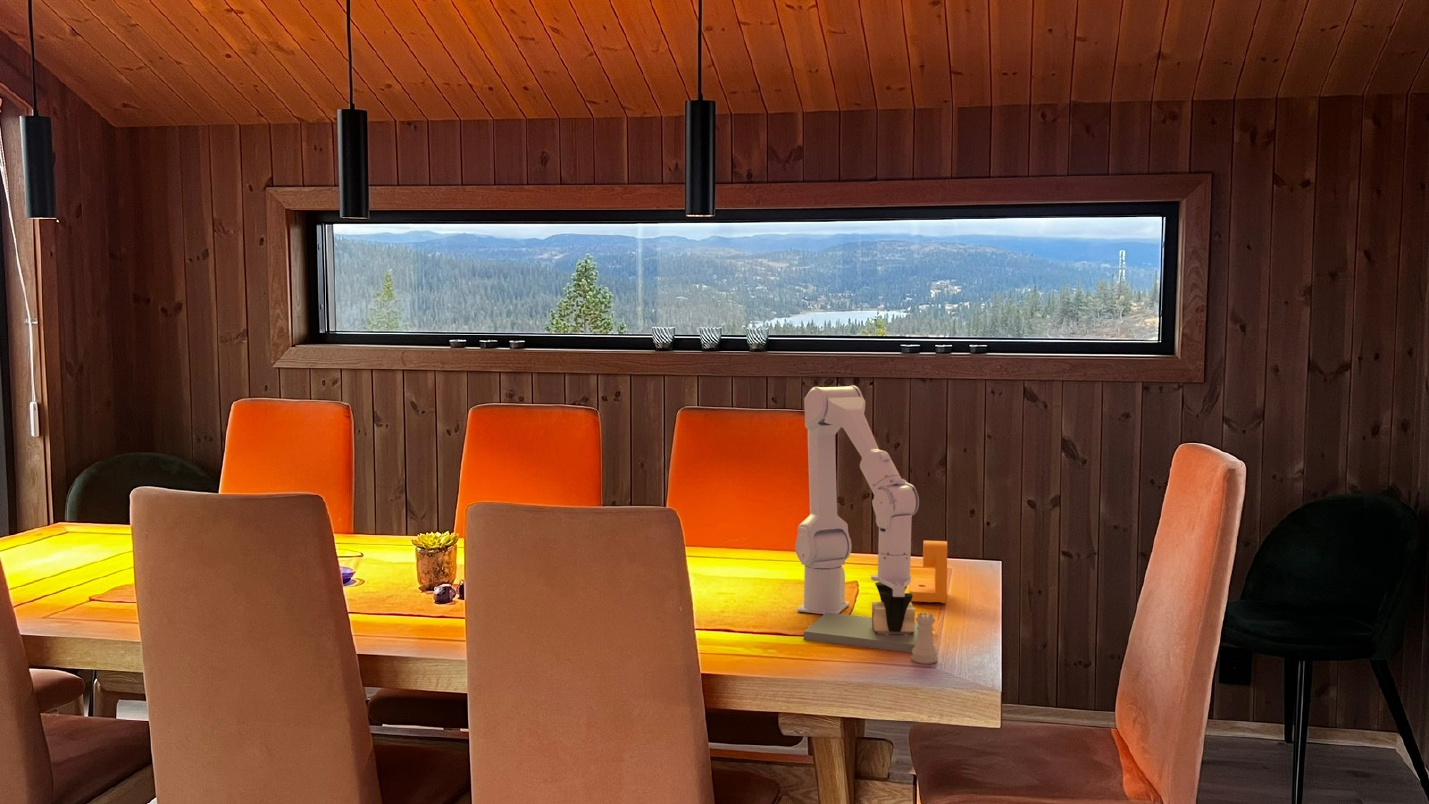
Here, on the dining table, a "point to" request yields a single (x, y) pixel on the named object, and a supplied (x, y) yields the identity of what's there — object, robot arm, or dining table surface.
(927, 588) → the bracket
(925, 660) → the rook chess piece
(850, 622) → the board
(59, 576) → the dining table surface
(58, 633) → the dining table surface
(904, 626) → the block
